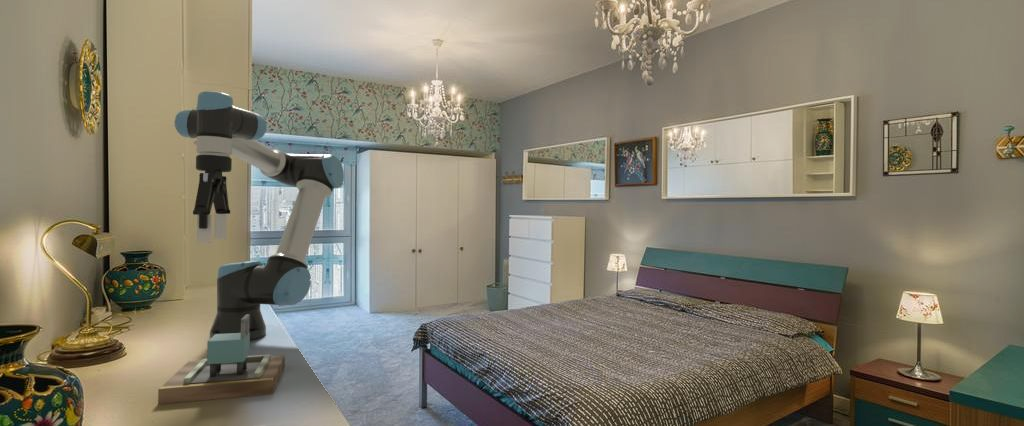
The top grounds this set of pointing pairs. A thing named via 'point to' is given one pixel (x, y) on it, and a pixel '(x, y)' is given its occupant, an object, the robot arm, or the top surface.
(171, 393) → the dock
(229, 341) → the light blue chair
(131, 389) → the top surface
